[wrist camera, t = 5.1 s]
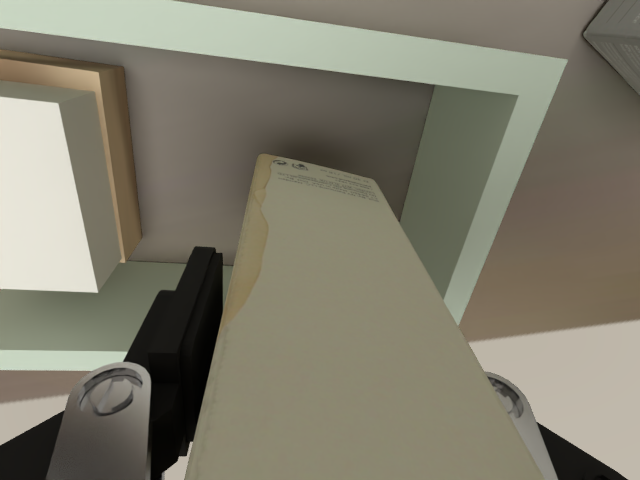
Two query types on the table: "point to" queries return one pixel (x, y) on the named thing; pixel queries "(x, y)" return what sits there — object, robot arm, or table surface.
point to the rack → (318, 53)
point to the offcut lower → (112, 121)
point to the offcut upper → (54, 191)
